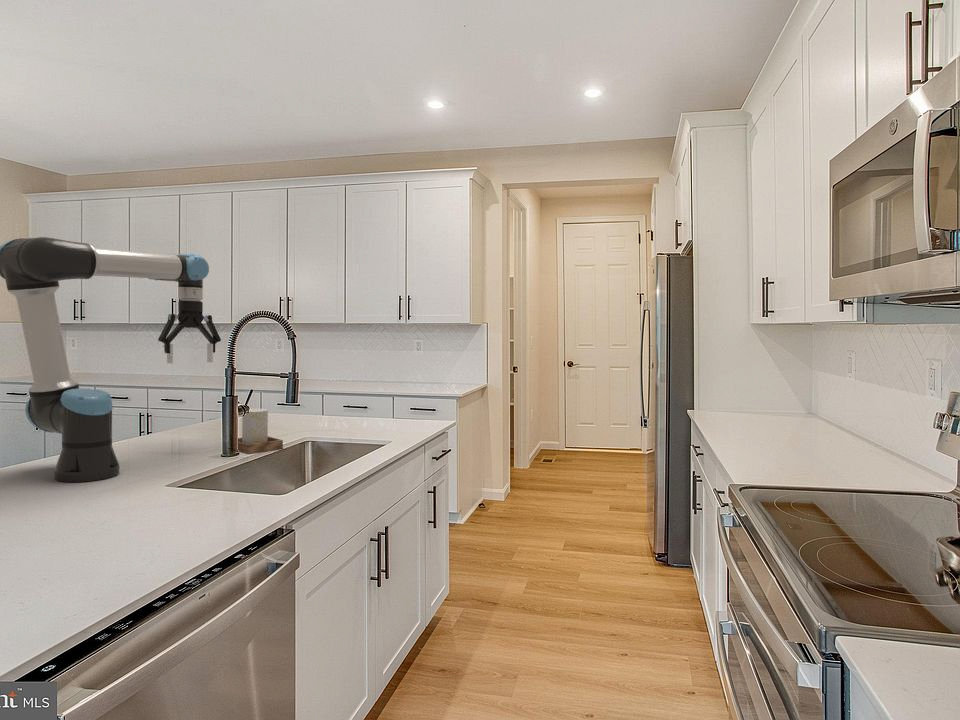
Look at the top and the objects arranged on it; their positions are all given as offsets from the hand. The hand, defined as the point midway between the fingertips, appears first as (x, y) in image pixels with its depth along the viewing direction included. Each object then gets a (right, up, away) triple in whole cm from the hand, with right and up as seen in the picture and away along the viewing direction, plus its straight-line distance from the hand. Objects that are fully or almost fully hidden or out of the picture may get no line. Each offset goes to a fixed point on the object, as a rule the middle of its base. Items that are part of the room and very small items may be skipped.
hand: (190, 362), depth 212 cm
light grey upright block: (+22, -28, 0) cm, 36 cm away
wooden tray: (+22, -29, +1) cm, 37 cm away
